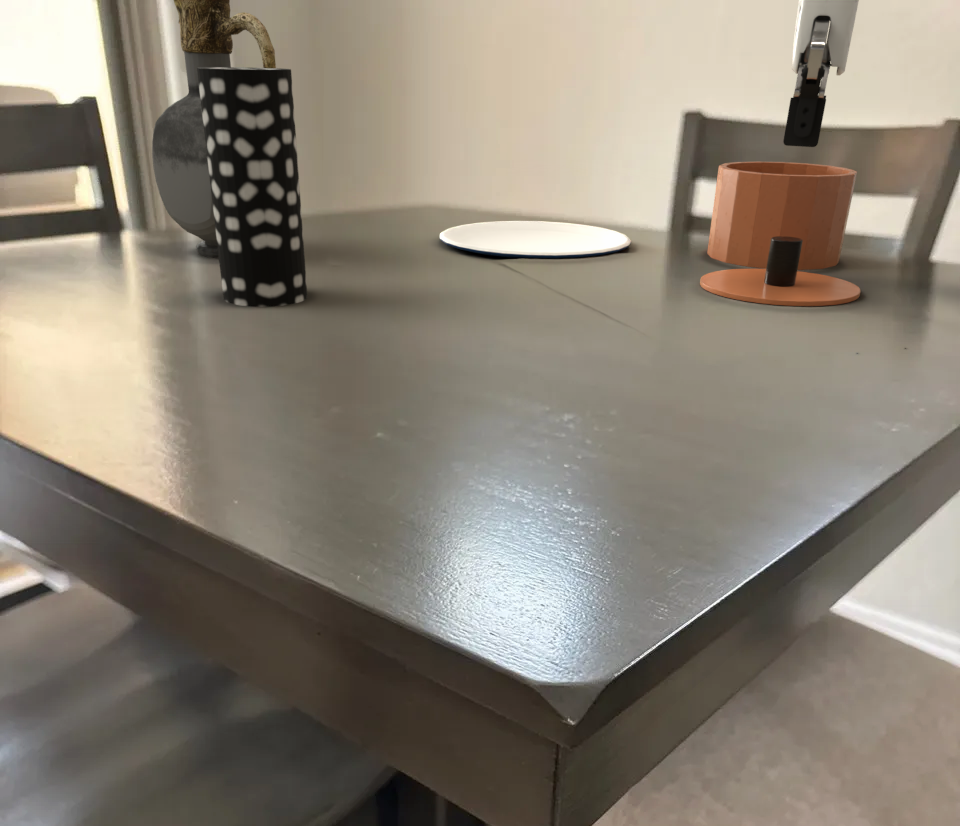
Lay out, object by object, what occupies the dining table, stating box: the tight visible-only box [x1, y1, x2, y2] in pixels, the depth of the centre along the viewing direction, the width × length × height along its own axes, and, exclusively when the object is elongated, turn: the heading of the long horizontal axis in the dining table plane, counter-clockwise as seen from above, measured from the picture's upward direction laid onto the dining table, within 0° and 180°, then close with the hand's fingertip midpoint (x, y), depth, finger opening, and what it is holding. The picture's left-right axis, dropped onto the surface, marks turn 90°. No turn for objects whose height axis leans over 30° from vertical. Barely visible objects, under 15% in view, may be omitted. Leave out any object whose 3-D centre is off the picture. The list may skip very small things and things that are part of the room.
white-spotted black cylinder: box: [197, 66, 308, 308], centre depth 93 cm, size 8×8×20 cm
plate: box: [439, 220, 632, 260], centre depth 127 cm, size 25×25×1 cm
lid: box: [699, 236, 861, 307], centre depth 103 cm, size 17×17×6 cm
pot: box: [706, 161, 858, 271], centre depth 118 cm, size 16×16×10 cm
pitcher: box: [151, 0, 277, 259], centre depth 109 cm, size 11×19×30 cm, turn 49°
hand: (801, 142), depth 97 cm, fingers open, 9 cm apart
